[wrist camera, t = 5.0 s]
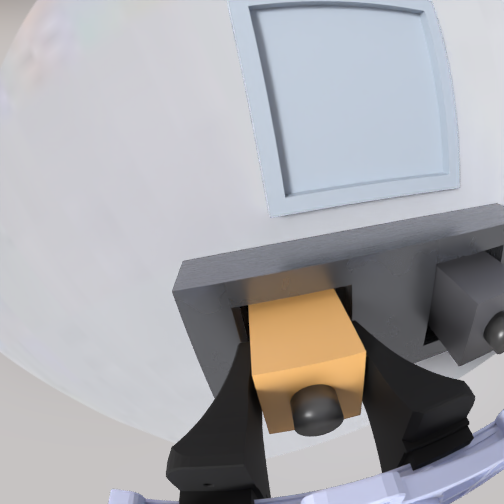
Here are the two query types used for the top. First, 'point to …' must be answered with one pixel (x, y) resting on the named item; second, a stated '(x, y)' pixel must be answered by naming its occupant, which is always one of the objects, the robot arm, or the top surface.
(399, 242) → the strip
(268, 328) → the plug
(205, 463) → the robot arm
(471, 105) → the top surface
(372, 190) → the tray
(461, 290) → the grey block with knob
